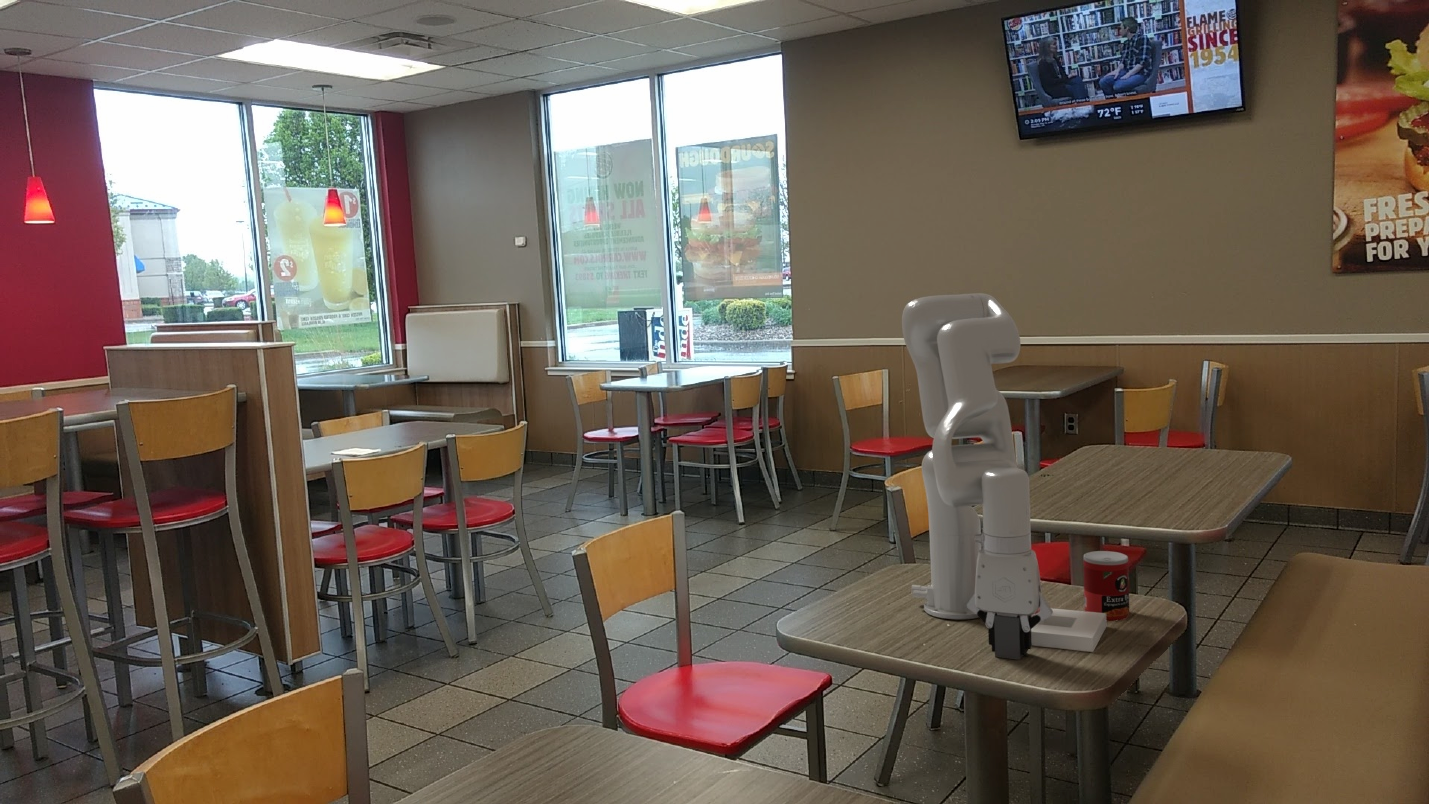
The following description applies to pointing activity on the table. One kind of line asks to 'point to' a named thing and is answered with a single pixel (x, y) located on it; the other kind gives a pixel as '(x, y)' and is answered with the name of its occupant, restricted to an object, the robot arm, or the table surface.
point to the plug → (1007, 636)
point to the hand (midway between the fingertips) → (1010, 649)
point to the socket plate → (1069, 630)
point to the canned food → (1106, 584)
